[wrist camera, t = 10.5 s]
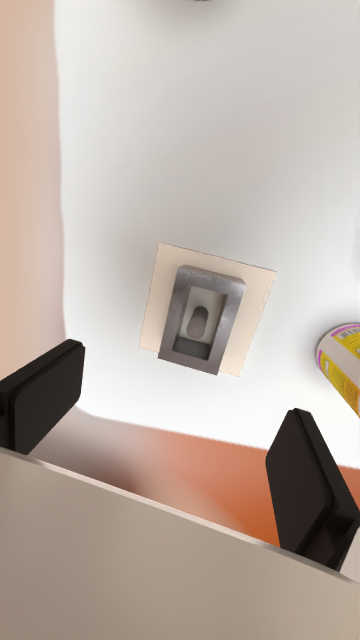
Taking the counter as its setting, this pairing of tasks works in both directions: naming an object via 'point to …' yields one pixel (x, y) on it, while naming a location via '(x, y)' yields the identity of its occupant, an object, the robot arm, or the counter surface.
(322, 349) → the supplement bottle
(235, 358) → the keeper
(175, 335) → the link
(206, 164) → the counter surface
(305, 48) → the counter surface
